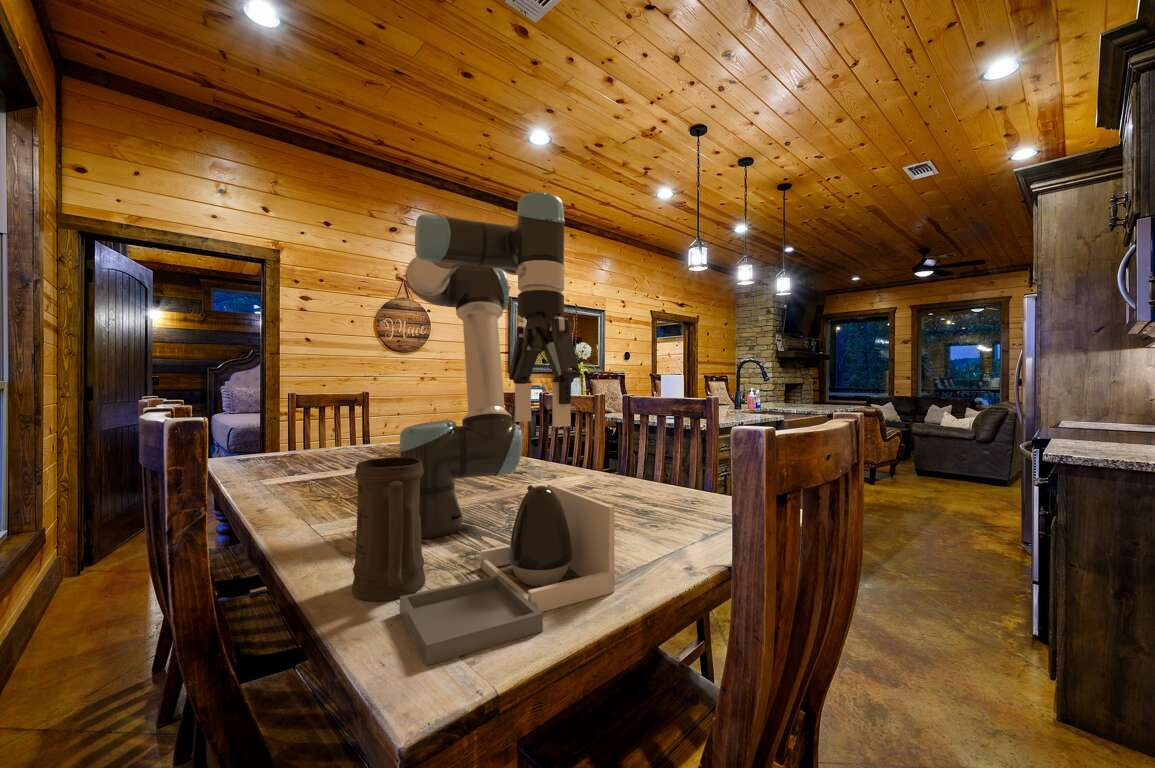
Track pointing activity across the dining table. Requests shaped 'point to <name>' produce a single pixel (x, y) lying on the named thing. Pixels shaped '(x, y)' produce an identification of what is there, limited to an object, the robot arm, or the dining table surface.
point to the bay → (589, 554)
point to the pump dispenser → (540, 539)
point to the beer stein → (388, 529)
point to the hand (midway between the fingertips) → (540, 424)
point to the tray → (467, 618)
